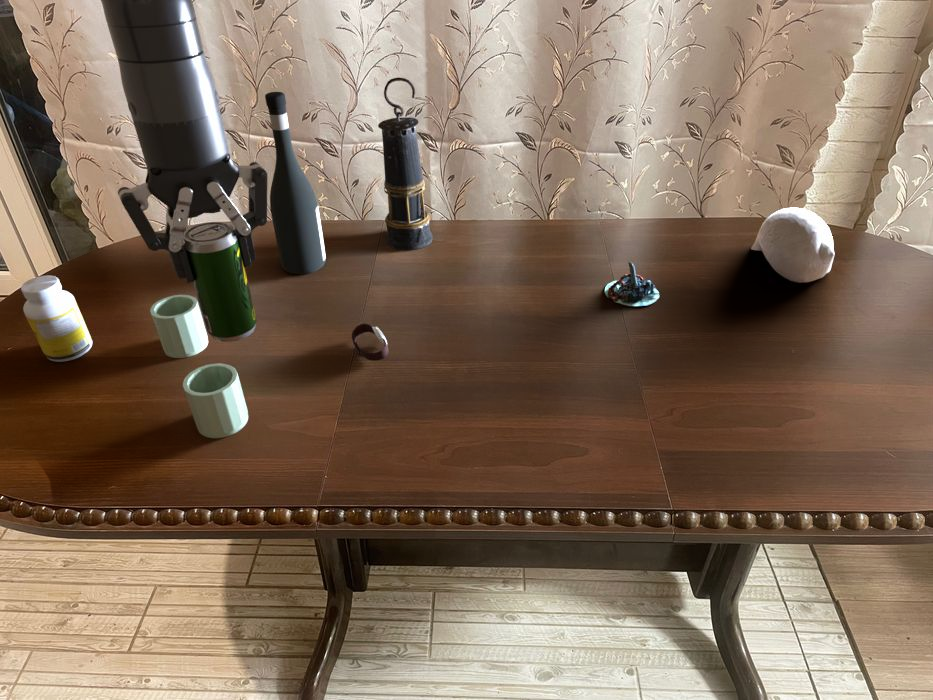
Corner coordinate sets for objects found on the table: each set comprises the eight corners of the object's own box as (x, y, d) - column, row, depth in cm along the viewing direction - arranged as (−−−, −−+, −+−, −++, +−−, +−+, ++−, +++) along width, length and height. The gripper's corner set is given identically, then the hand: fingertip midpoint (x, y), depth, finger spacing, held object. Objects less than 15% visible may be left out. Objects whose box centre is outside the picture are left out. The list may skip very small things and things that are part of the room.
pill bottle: (64, 336, 100) (34, 270, 94) (103, 340, 100) (75, 273, 93) (35, 362, 95) (1, 293, 88) (76, 365, 94) (45, 297, 88)
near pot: (204, 445, 81) (189, 402, 77) (191, 416, 85) (177, 374, 81) (254, 426, 84) (243, 383, 80) (240, 399, 88) (228, 357, 84)
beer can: (222, 349, 70) (194, 249, 63) (199, 329, 73) (171, 231, 66) (266, 330, 73) (245, 232, 66) (243, 311, 76) (220, 216, 69)
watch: (397, 357, 96) (395, 337, 93) (368, 368, 94) (365, 347, 91) (373, 332, 101) (371, 312, 99) (345, 342, 99) (342, 322, 97)
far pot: (168, 363, 95) (155, 323, 91) (159, 341, 99) (146, 302, 95) (213, 349, 98) (202, 309, 93) (202, 329, 102) (191, 290, 98)
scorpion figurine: (646, 299, 103) (630, 257, 106) (609, 318, 108) (595, 277, 110) (670, 304, 109) (654, 264, 111) (634, 322, 113) (619, 283, 116)
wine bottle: (310, 251, 123) (282, 84, 105) (335, 265, 118) (311, 93, 101) (273, 266, 118) (237, 94, 100) (298, 281, 114) (265, 103, 96)
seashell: (753, 312, 118) (815, 275, 104) (715, 245, 120) (771, 201, 107) (810, 288, 123) (876, 251, 110) (773, 225, 126) (833, 181, 113)
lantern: (390, 228, 131) (377, 68, 113) (436, 229, 130) (429, 69, 112) (381, 249, 123) (365, 82, 106) (429, 251, 122) (421, 83, 105)
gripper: (242, 87, 65) (273, 242, 75) (83, 109, 59) (139, 274, 69) (265, 105, 60) (295, 269, 69) (93, 131, 54) (152, 307, 63)
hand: (217, 271), depth 69 cm, fingers closed on beer can, 5 cm apart
